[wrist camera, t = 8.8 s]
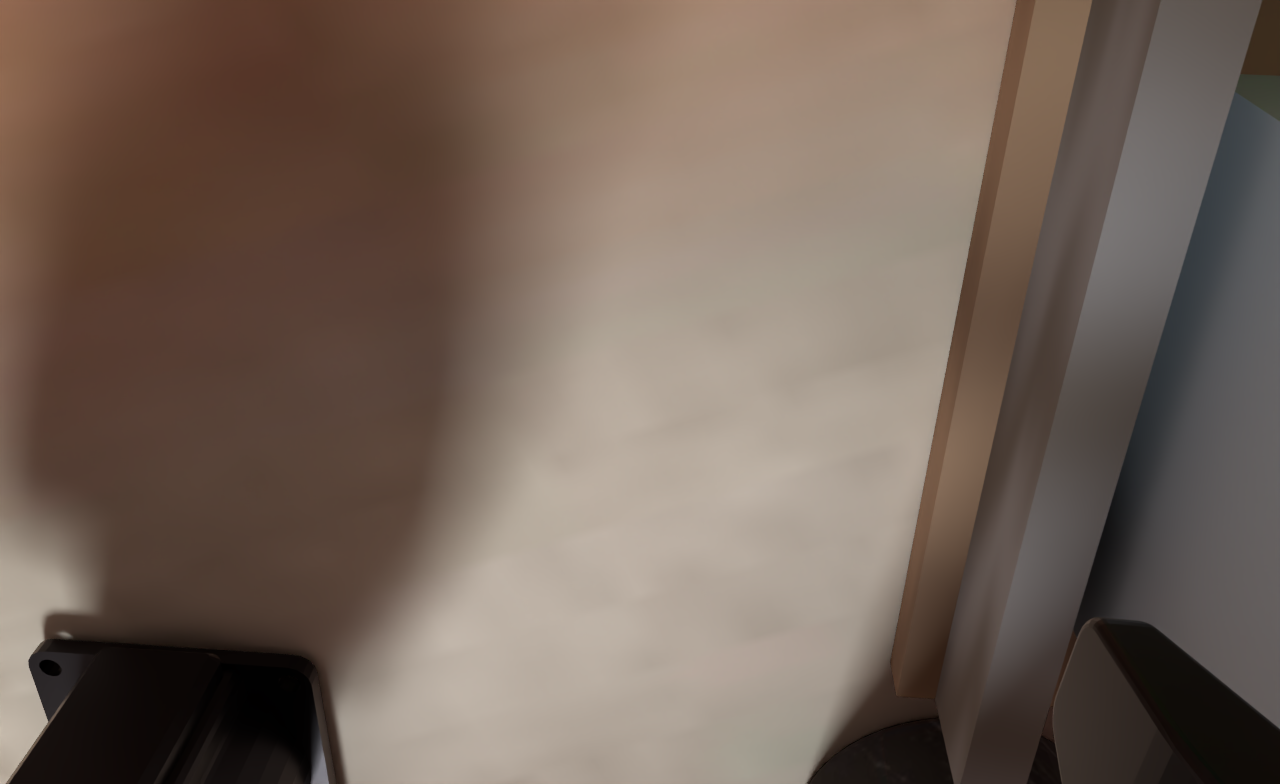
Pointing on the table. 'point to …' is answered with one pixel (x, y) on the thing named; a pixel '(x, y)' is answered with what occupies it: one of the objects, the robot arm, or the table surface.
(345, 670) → the table surface
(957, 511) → the track base
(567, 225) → the table surface
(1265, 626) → the door panel
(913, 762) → the travel mug
